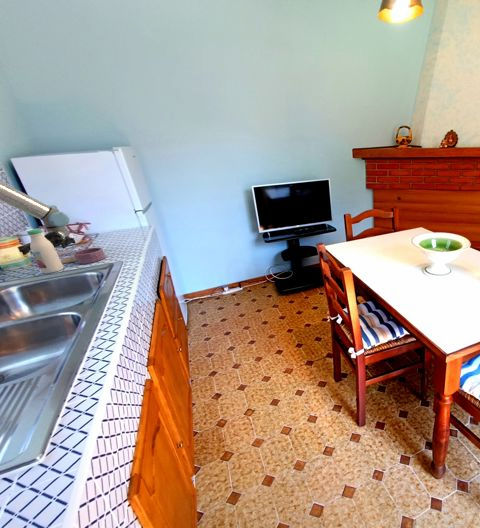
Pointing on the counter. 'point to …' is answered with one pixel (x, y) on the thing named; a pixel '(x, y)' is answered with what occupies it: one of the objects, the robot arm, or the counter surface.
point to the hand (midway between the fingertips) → (43, 248)
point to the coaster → (68, 260)
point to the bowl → (89, 255)
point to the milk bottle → (44, 252)
